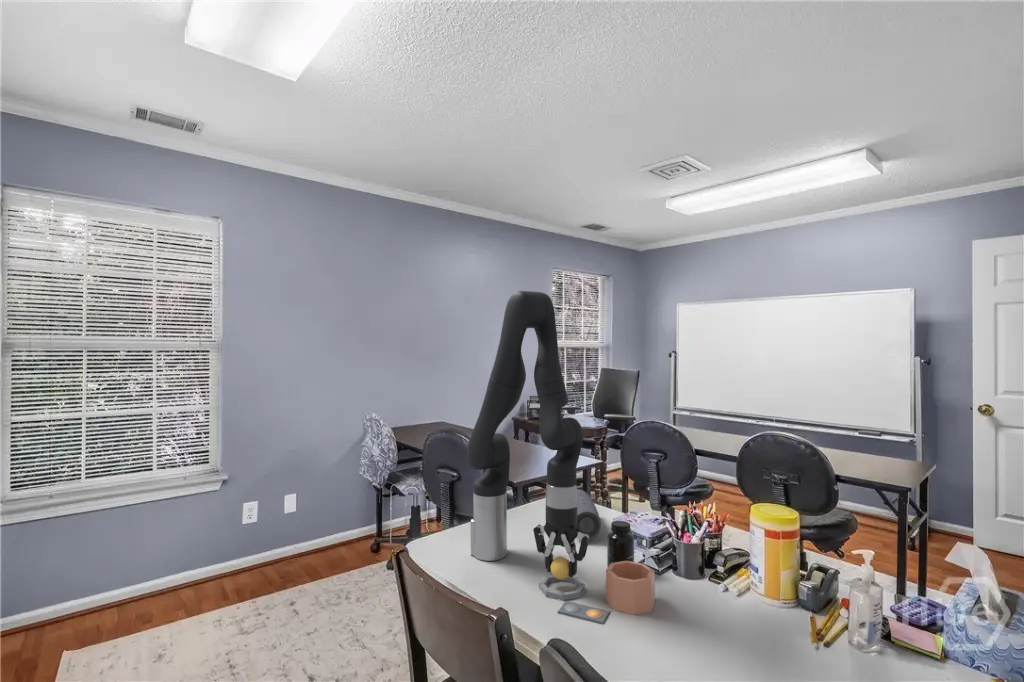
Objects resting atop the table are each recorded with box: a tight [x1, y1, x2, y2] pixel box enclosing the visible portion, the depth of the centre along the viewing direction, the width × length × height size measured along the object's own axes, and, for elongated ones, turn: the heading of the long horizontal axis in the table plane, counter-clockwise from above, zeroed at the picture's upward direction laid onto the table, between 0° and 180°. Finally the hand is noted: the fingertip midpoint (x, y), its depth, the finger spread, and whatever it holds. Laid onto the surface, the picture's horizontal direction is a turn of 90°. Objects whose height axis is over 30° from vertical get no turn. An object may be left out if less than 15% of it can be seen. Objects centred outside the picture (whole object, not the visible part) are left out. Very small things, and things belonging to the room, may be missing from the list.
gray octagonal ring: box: [538, 574, 586, 601], centre depth 120 cm, size 10×10×1 cm
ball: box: [550, 556, 570, 580], centre depth 120 cm, size 5×5×5 cm
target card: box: [557, 600, 610, 625], centre depth 109 cm, size 10×5×1 cm, turn 64°
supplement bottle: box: [606, 520, 635, 569], centre depth 130 cm, size 7×7×12 cm
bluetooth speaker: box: [577, 488, 602, 540], centre depth 159 cm, size 23×9×10 cm, turn 179°
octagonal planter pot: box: [605, 561, 656, 616], centre depth 114 cm, size 10×10×7 cm
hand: (561, 573), depth 120 cm, fingers closed on ball, 5 cm apart
